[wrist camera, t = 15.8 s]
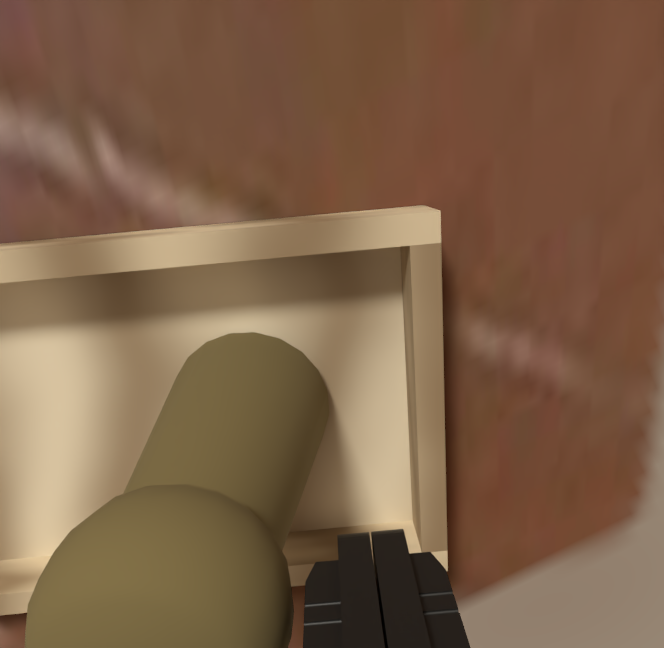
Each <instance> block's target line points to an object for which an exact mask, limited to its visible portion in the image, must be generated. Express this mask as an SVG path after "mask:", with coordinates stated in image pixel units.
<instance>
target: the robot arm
mask: <svg viewBox="0 0 664 648" xmlns="http://www.w3.org/2000/svg"><path fill="white" fill-rule="evenodd" d="M371 538H372V549H371V542H370V535H369V532H362V533H351V534H340V535H337V539H338V560H332V561H321V562H315V564H314V566H313V568H312V570H311V572H310V574H309V576H308V578H307V580H306V581H305V608H304V636H303V648H470V645H469V642H468V639H467V636H466V633H465V629H464V626H463V623H462V620H461V617H460V613H459V612H458V607H457V604H456V601H455V597H454V595H453V593H452V588H451V585H450V582H449V578H448V575H447V572H446V569H445V568H444V567H443V566H442V564H441V563H440V562H439V561H438V560H437V559H436V558H435V556H434V555H433V554H432V553H431V552H421V553H410V554H409V550H408V546H407V541H406V537H405V533H404V530H403V529H395V530H383V531H372V532H371ZM372 551H373V557H372Z"/></svg>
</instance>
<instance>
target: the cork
mask: <svg viewBox="0 0 664 648" xmlns="http://www.w3.org/2000/svg"><path fill="white" fill-rule="evenodd" d="M328 418H329V401H328V391H327V389H326V386H325V384H324V382H323V380H322V377H321V375H320V373H319V370H318V369H317V368H316V367H315V366H314V365H313V364H312V362H311V361H310V360H309V359H308V358H307V357H306V356H305V355H304V353H303V352H302V351H300V350H298V349H297V348H295V347H293V346H292V345H290V344H288V343H287V342H285V341H283V340H282V339H280V338H276V337H272V336H268V335H264V334H260V333H256V332H249V333H229V334H227V335H224V336H221V337H219V338H216V339H213V340H211V341H208V342H206V343H205V344H203V345H202V346H201V347H200V348H199V349H197V350H196V351H195V352H194V353H192V354H191V355H190V356H189V357H188V358H187V360H186V362H185V363H184V365H183V367H182V368H181V370H180V372H179V373H178V375H177V377H176V379H175V381H174V384H173V386H172V388H171V390H170V392H169V394H168V397H167V399H166V401H165V403H164V405H163V408H162V410H161V412H160V414H159V416H158V419H157V421H156V423H155V425H154V427H153V429H152V432H151V434H150V436H149V438H148V440H147V443H146V445H145V447H144V449H143V451H142V454H141V456H140V458H139V460H138V462H137V464H136V467H135V469H134V471H133V473H132V475H131V478H130V480H129V482H128V484H127V486H126V489H125V491H124V493H123V494H121V495H118V496H115V497H114V498H113V499H111V500H110V501H109V502H107V503H106V504H105V505H103V506H102V507H101V508H99V509H98V510H97V511H95V512H94V513H93V514H91V515H90V516H89V517H88V518H86V519H85V520H84V521H82V522H81V523H80V524H79V525H77V526H76V527H75V528H73V529H72V530H71V531H70V532H69V533H68V535H67V536H66V537H65V538H64V540H63V541H62V542H61V544H60V545H59V546H58V547H57V549H56V550H55V551H54V553H53V554H52V556H51V558H50V560H49V561H48V563H47V565H46V567H45V568H44V570H43V572H42V574H41V575H40V577H39V579H38V581H37V584H36V586H35V589H34V591H33V593H32V596H31V598H30V601H29V603H28V608H27V620H26V631H25V648H288V645H289V642H290V639H291V634H292V625H293V615H294V608H293V599H292V589H291V581H290V575H289V569H288V563H287V559H286V557H285V556H284V554H283V552H282V550H283V547H284V545H285V542H286V539H287V536H288V533H289V531H290V528H291V525H292V522H293V519H294V516H295V514H296V511H297V508H298V505H299V502H300V500H301V497H302V494H303V491H304V488H305V486H306V483H307V480H308V477H309V474H310V472H311V469H312V466H313V463H314V460H315V458H316V455H317V452H318V449H319V446H320V444H321V441H322V438H323V435H324V432H325V428H326V425H327V421H328Z"/></svg>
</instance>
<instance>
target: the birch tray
mask: <svg viewBox="0 0 664 648" xmlns="http://www.w3.org/2000/svg"><path fill="white" fill-rule="evenodd" d="M249 332H256V333H260V334H264V335H268V336H272V337H276V338H280V339H282V340H283V341H285V342H287V343H288V344H290V345H292V346H293V347H295V348H297V349H298V350H300V351H302V352H303V353H304V355H305V356H306V357H307V358H308V359H309V360H310V361H311V362H312V364H313V365H314V366H315V367H316V368H317V369H318V370H319V373H320V375H321V377H322V380H323V382H324V384H325V386H326V389H327V391H328V401H329V418H328V421H327V425H326V428H325V432H324V435H323V438H322V441H321V444H320V446H319V449H318V452H317V455H316V458H315V460H314V463H313V466H312V469H311V472H310V474H309V477H308V480H307V483H306V486H305V488H304V491H303V494H302V497H301V500H300V502H299V505H298V508H297V511H296V514H295V516H294V519H293V522H292V525H291V528H290V531H289V533H288V536H287V539H286V542H285V545H284V547H283V550H282V552H283V554H284V556H285V557H286V559H287V563H288V569H289V575H290V581H291V587H293V586H303V585H305V581H306V580H307V578H308V576H309V574H310V572H311V570H312V568H313V566H314V564H315V562H321V561H332V560H338V539H337V535H340V534H351V533H362V532H369V535H370V542H371V549H372V538H371V532H372V531H383V530H395V529H403V530H404V533H405V537H406V541H407V546H408V550H409V554H410V553H421V552H431V553H432V554H433V555H434V556H435V558H436V559H437V560H438V561H439V562H440V563H441V564H442V566H443V567H444V568H445V569H446V571H448V553H447V504H446V454H445V405H444V356H443V306H442V257H441V211H440V210H437V209H433V208H430V207H427V206H424V205H421V206H410V207H399V208H388V209H377V210H366V211H355V212H344V213H333V214H322V215H311V216H300V217H289V218H278V219H267V220H256V221H245V222H234V223H223V224H212V225H201V226H190V227H179V228H168V229H157V230H146V231H135V232H124V233H113V234H102V235H91V236H80V237H69V238H58V239H47V240H36V241H25V242H14V243H3V244H0V615H9V614H20V613H27V608H28V603H29V601H30V598H31V596H32V593H33V591H34V589H35V586H36V584H37V581H38V579H39V577H40V575H41V574H42V572H43V570H44V568H45V567H46V565H47V563H48V561H49V560H50V558H51V556H52V554H53V553H54V551H55V550H56V549H57V547H58V546H59V545H60V544H61V542H62V541H63V540H64V538H65V537H66V536H67V535H68V533H69V532H70V531H71V530H72V529H73V528H75V527H76V526H77V525H79V524H80V523H81V522H82V521H84V520H85V519H86V518H88V517H89V516H90V515H91V514H93V513H94V512H95V511H97V510H98V509H99V508H101V507H102V506H103V505H105V504H106V503H107V502H109V501H110V500H111V499H113V498H114V497H115V496H118V495H121V494H123V493H124V491H125V489H126V486H127V484H128V482H129V480H130V478H131V475H132V473H133V471H134V469H135V467H136V464H137V462H138V460H139V458H140V456H141V454H142V451H143V449H144V447H145V445H146V443H147V440H148V438H149V436H150V434H151V432H152V429H153V427H154V425H155V423H156V421H157V419H158V416H159V414H160V412H161V410H162V408H163V405H164V403H165V401H166V399H167V397H168V394H169V392H170V390H171V388H172V386H173V384H174V381H175V379H176V377H177V375H178V373H179V372H180V370H181V368H182V367H183V365H184V363H185V362H186V360H187V358H188V357H189V356H190V355H191V354H192V353H194V352H195V351H196V350H197V349H199V348H200V347H201V346H202V345H203V344H205V343H206V342H208V341H211V340H213V339H216V338H219V337H221V336H224V335H227V334H229V333H249ZM372 557H373V551H372Z"/></svg>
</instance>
